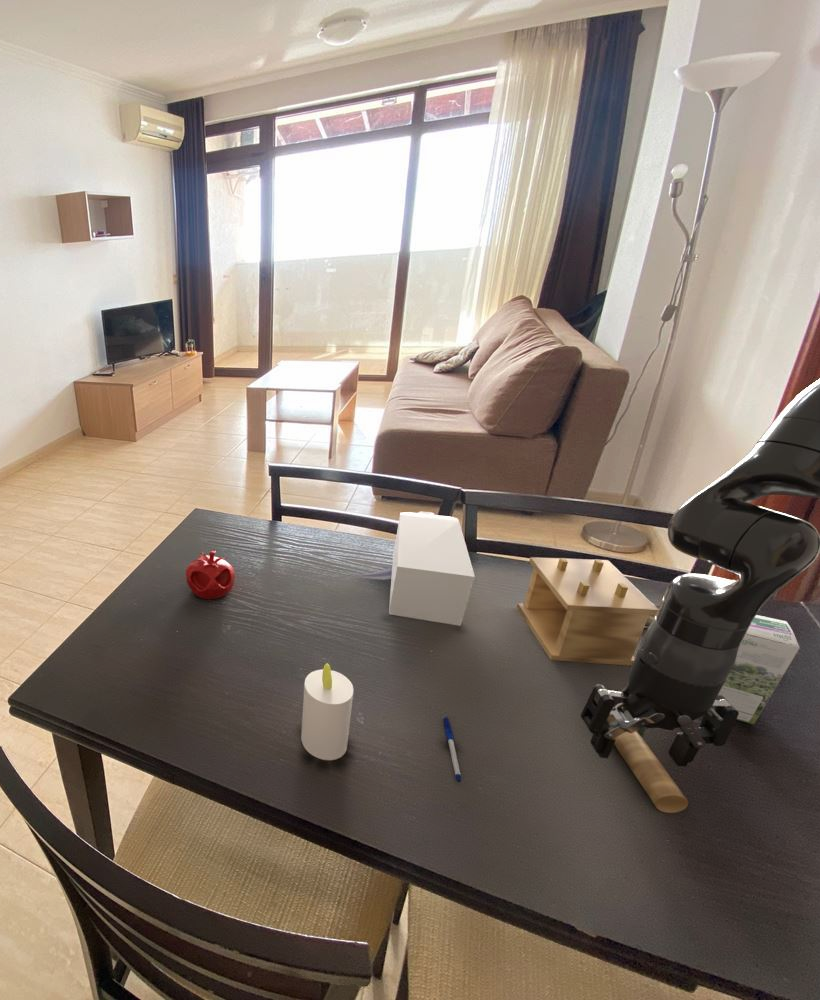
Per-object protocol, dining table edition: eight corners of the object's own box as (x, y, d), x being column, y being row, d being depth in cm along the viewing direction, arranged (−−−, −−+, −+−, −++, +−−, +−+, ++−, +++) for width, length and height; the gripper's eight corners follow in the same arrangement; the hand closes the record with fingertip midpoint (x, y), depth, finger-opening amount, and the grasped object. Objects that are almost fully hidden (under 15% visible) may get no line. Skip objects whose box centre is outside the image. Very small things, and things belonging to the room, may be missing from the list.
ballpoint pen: (441, 719, 79) (442, 714, 78) (447, 720, 79) (449, 715, 78) (456, 782, 70) (457, 777, 69) (464, 784, 69) (465, 778, 69)
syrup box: (744, 698, 78) (787, 618, 72) (754, 727, 74) (802, 644, 67) (691, 684, 81) (728, 606, 75) (698, 710, 77) (738, 630, 70)
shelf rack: (590, 611, 97) (611, 551, 92) (636, 666, 85) (663, 600, 79) (516, 607, 100) (532, 548, 94) (550, 659, 87) (571, 595, 82)
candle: (356, 738, 77) (366, 657, 70) (332, 768, 73) (341, 685, 66) (316, 715, 81) (322, 637, 74) (292, 742, 77) (296, 662, 70)
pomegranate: (186, 577, 116) (184, 540, 112) (232, 575, 116) (232, 538, 112) (187, 605, 108) (184, 566, 104) (237, 603, 107) (236, 564, 103)
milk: (460, 625, 96) (448, 541, 117) (474, 576, 90) (458, 496, 110) (388, 614, 100) (388, 534, 121) (397, 566, 94) (395, 490, 115)
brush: (689, 815, 64) (698, 797, 62) (645, 810, 65) (654, 792, 63) (622, 721, 76) (629, 704, 75) (586, 718, 77) (592, 701, 76)
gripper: (731, 643, 64) (683, 739, 71) (594, 634, 67) (561, 726, 74) (783, 690, 58) (724, 790, 65) (629, 677, 61) (589, 774, 68)
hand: (637, 756), depth 69 cm, fingers open, 8 cm apart
